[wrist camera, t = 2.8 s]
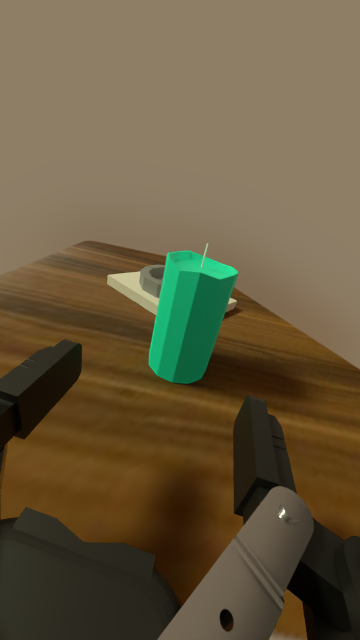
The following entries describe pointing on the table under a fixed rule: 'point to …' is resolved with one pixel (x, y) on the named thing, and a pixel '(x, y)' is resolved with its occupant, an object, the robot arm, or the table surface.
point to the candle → (189, 315)
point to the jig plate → (145, 287)
